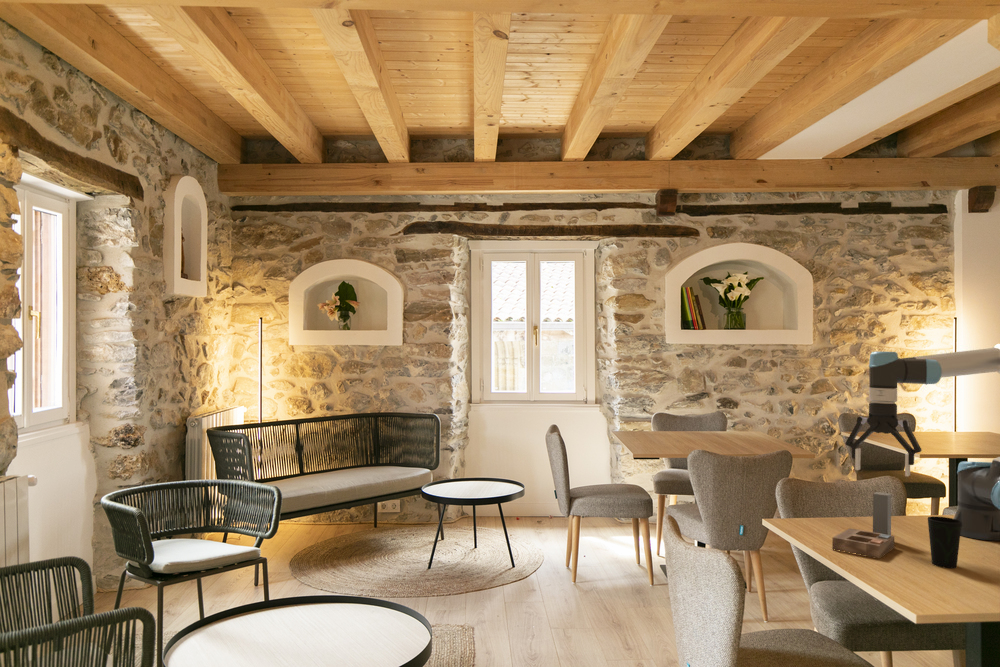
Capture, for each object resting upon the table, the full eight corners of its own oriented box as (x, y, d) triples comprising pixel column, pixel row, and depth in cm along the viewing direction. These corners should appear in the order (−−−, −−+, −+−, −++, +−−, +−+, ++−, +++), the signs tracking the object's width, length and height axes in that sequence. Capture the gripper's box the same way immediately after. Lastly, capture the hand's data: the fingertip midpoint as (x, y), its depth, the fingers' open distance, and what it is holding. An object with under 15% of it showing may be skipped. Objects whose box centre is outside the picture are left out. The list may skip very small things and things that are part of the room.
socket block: (894, 548, 203) (894, 534, 203) (879, 558, 191) (879, 544, 191) (849, 539, 211) (849, 526, 211) (832, 549, 199) (832, 536, 199)
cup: (950, 570, 181) (950, 524, 182) (921, 562, 188) (921, 517, 189) (967, 567, 185) (967, 521, 185) (938, 559, 192) (938, 515, 192)
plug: (890, 540, 211) (891, 493, 212) (887, 543, 208) (887, 495, 209) (876, 538, 214) (876, 491, 215) (872, 540, 211) (873, 493, 212)
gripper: (835, 400, 218) (834, 468, 218) (927, 405, 201) (926, 479, 201) (842, 399, 224) (841, 466, 223) (933, 404, 207) (932, 477, 206)
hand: (882, 472), depth 212 cm, fingers open, 13 cm apart
